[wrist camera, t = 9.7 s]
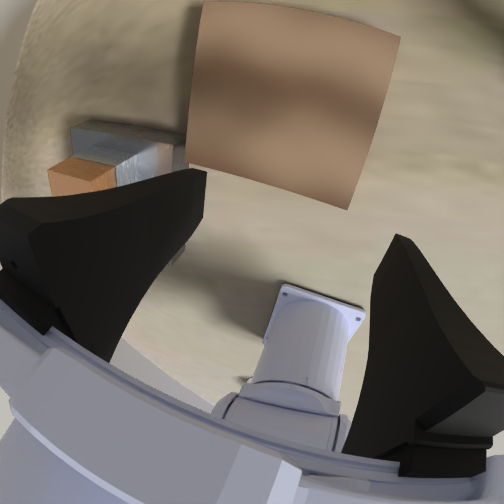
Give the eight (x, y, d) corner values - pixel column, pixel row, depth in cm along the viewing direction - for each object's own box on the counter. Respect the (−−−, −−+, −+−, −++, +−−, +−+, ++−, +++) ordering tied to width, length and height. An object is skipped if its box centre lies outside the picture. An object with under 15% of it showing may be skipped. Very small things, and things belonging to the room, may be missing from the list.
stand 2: (348, 193, 19) (347, 210, 17) (201, 150, 21) (184, 161, 19) (394, 41, 12) (400, 37, 10) (221, 6, 14) (203, 1, 12)
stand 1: (185, 249, 27) (171, 265, 25) (99, 217, 29) (84, 229, 27) (190, 135, 20) (172, 145, 18) (90, 120, 22) (70, 128, 20)
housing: (142, 239, 25) (108, 274, 21) (102, 224, 26) (67, 254, 22) (137, 154, 20) (90, 181, 16) (92, 145, 20) (47, 169, 17)
